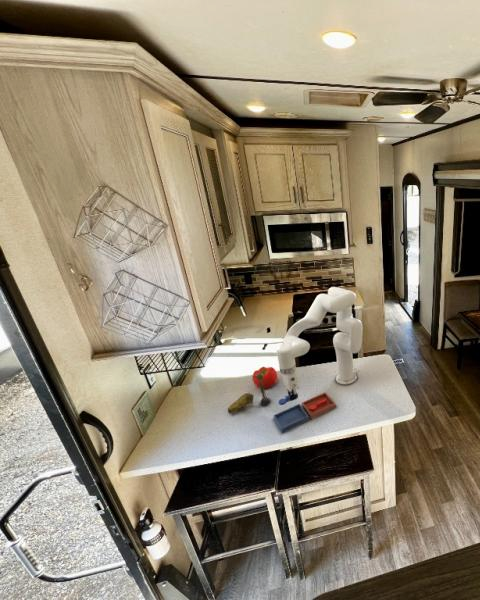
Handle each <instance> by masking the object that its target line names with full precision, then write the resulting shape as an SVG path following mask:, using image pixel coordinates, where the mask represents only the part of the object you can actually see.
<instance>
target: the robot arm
mask: <svg viewBox="0 0 480 600" xmlns="http://www.w3.org/2000/svg"><path fill="white" fill-rule="evenodd" d="M356 301H357V295H356V293H355V292H354V291H353V290H349V289H347V288H346V289H345V288H343V287H338V286H331V287H330V288H328V290H327V293H319V294H318V295H316V297H315V299H314V300H313V302H312V304H311V306H310V308H309V309H308V311H307V312H306V314H305V316H304V317H303V318H301V319H299V320H298V321H296V322H295V323H294V324H293V325H292V326H291V327H290V328H289V329H288V330H287V332H286V334H285V335H284V338H283V339H282V344H280V345H278V346H277V347H276V356H277V361H278V368H279V373H280V374H281V376H282V381H283V384H284V385H285V387H286V389H287V396H288V395H290V400H291V401H292V402H293V401H296V400H297V399H298V398H297V395H296V394H297V393H298V392H297V390H299V389H300V384H299V380H298V379H299V378H298V375H297V372H296V371H297V365H296V358H297V357H301V356H304V355H306V354H308V352H309V350H310V348H311V345H310V343H309V341H307V340H305V339H303V338H300V337H299V336H300V334H301V333H302V332H303V331H305V330H307V329H311V328H315V327H318V326H320V325H321V323H322V322H323V320H324V318H325V316H326V315H327V313H332V314H336V320H335V321H336V322H335V323H336V325H335V326H336V329H337V330H338V331H339V332H336V333H335V334H334V335H333V338H332V343H333V344H332V345H333V348H334V350H335V356H336V366H337V375H336V376H335V381H336V382H337V383H338V384H340V385H350V384H353V383H354V382H355V381H356V380H357V378H358V377H357V373H358V374H359V373H360V372H361V371H362V370H361V368H357V367H355V368H354V359H353V357H354V356H353V354H357V353H359V352H360V350H361V348H362V345H363V332H364V331H363V329H364V328H363V322H362V321H361V320H360V319H358V318H355V317H353V309H352V306H353V305H354V304H355V303H356ZM291 401H290V402H291Z"/></svg>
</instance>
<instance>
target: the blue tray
mask: <svg viewBox="0 0 480 600" xmlns="http://www.w3.org/2000/svg"><path fill="white" fill-rule="evenodd" d="M273 419H274V422H275V423H276V425H277V426H278V429H279V430H280V432H281V433H282V434H284V433H286V432H288V431H290V430H292V429H294V428H296V427H298V426H300V425H303V424H304V423H307V422H308V421H310V417H309V415H308V414H307V413H306V411H305V410H304V408H303V407H302V404H301V403H298V404H295V405H293V406H291V407H289V408H287V409H285V410H282V411H280V412H278V413H276V414H273Z"/></svg>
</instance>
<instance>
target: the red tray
mask: <svg viewBox="0 0 480 600" xmlns="http://www.w3.org/2000/svg"><path fill="white" fill-rule="evenodd" d="M325 398H326V400H327V404H325V405H323V406H321V407H319V408H317V409H316V410H315V411H311V410H310V406H311V405H316V403H317V402H319V401H321V400H323V399H325ZM301 406H302V408H303V409H304V411H305V412H306V413H307V415H308V416H309V419H310V420H313V419H315V418H317V417H319V416H321V415H323V414H325V413H327V412H329V411H331V410H333V409H335V408H336V406H337V405H336V402H335V401H334V400H333V399H332V398H331V397H330V396H329V395H328V393H327V392H323V393H320V394H318V395H316V396H313V397H311V398H309V399H307V400H305V401H302V402H301Z"/></svg>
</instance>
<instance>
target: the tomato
mask: <svg viewBox="0 0 480 600" xmlns="http://www.w3.org/2000/svg"><path fill="white" fill-rule="evenodd" d="M258 373H262V374H263V376H264V377H263V379H261V380H262V382H263V387H264V389H267V388H270V387H272V386H274V385H276V383H277V381H278V372H277V371H276V369H275V368H274V367H273V366H267V367H266V366H262V367H259V369H255V370H254V371H253V374H252V377H251V378H252V382H253V384H254V385H255V386H256V387H257V388H258V389H261V387H260V382H259V381H260V380H258V379H257V378H253V376H256V375H257V374H258Z"/></svg>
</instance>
